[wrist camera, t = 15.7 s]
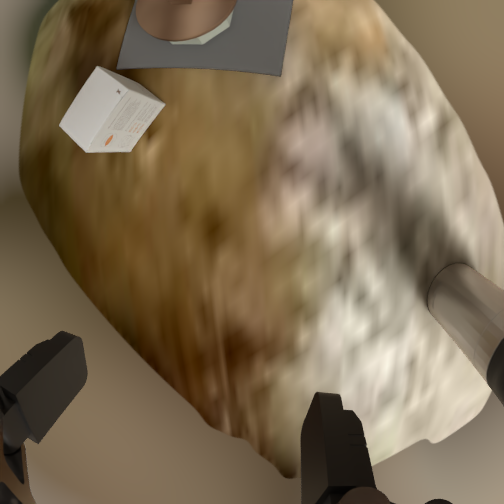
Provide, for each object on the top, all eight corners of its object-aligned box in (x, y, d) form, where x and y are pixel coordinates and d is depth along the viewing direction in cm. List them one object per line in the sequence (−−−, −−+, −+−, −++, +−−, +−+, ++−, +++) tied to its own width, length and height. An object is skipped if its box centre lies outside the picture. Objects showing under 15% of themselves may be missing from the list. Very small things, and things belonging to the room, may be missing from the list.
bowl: (239, -12, 29) (234, -30, 24) (226, 47, 32) (219, 32, 27) (169, -11, 29) (158, -27, 25) (153, 46, 32) (139, 34, 27)
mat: (294, -11, 29) (295, -13, 28) (280, 76, 33) (280, 75, 32) (140, -11, 30) (139, -13, 29) (118, 69, 34) (116, 68, 33)
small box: (139, 82, 34) (97, 62, 24) (167, 104, 35) (130, 88, 25) (104, 130, 36) (56, 125, 26) (130, 153, 37) (85, 153, 27)
